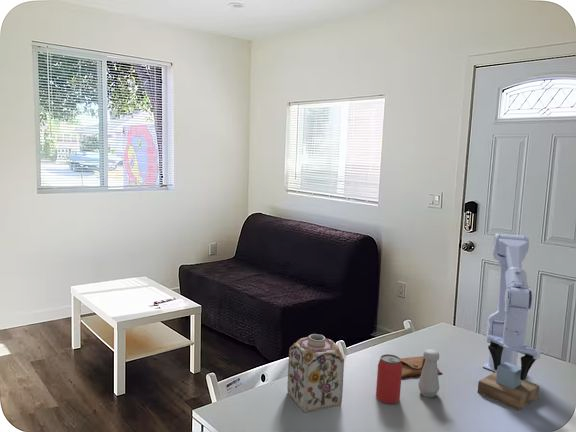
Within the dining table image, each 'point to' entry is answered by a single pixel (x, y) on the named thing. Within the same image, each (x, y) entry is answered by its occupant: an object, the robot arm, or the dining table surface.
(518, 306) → the robot arm
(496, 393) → the wooden block
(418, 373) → the sunglasses case
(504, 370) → the blue cube
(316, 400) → the decorative jar
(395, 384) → the beer can
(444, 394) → the dining table surface
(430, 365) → the salt shaker
